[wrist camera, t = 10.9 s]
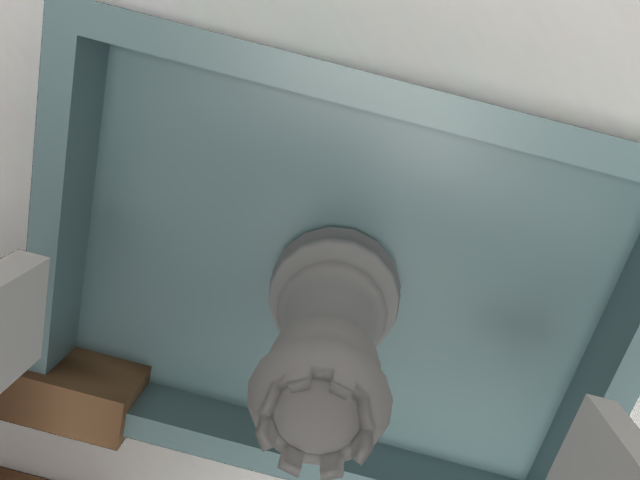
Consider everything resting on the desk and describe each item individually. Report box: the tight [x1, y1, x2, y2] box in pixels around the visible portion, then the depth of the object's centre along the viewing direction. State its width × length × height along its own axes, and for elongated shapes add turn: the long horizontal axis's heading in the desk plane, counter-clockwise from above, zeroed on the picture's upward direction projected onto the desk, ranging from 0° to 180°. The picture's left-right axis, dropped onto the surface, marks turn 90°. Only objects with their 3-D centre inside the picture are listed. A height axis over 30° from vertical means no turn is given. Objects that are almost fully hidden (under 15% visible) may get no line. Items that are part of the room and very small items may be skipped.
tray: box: [26, 0, 640, 480], centre depth 18 cm, size 20×14×3 cm
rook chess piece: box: [247, 227, 401, 480], centre depth 14 cm, size 4×4×8 cm
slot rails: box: [0, 347, 152, 480], centre depth 21 cm, size 10×9×3 cm
